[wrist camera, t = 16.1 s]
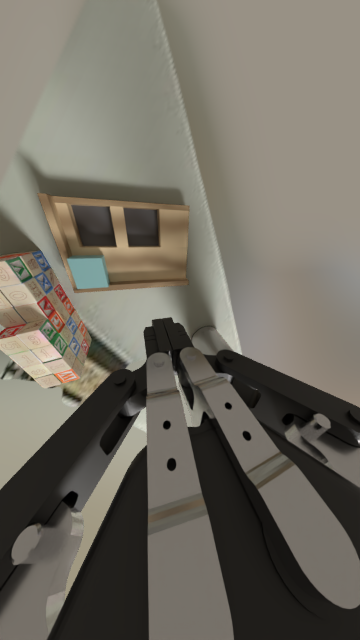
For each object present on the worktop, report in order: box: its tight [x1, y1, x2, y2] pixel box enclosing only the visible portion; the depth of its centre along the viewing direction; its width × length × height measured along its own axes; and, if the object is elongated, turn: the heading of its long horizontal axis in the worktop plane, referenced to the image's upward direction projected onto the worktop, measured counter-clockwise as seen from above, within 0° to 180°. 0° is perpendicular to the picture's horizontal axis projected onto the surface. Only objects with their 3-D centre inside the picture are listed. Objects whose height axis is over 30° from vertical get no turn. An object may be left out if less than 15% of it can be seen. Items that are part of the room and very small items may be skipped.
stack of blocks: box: [0, 250, 91, 388], centre depth 27 cm, size 21×6×12 cm, turn 5°
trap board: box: [37, 193, 189, 293], centre depth 28 cm, size 14×22×4 cm, turn 87°
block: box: [67, 255, 110, 289], centre depth 26 cm, size 5×5×3 cm
